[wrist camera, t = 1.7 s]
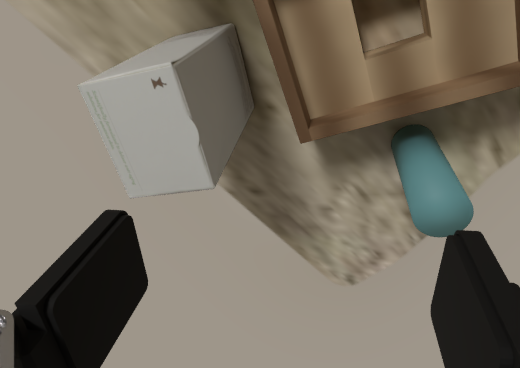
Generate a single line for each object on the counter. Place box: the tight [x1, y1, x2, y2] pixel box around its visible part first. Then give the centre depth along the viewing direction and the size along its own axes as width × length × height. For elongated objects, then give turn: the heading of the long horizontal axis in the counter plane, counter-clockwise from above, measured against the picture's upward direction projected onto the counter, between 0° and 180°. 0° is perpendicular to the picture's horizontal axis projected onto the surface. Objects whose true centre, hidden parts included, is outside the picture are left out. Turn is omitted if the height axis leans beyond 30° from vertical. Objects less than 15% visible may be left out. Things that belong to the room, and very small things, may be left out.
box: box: [253, 0, 520, 144], centre depth 28 cm, size 18×14×6 cm
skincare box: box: [78, 23, 254, 198], centre depth 29 cm, size 8×7×16 cm
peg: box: [391, 125, 473, 237], centre depth 31 cm, size 4×4×12 cm
